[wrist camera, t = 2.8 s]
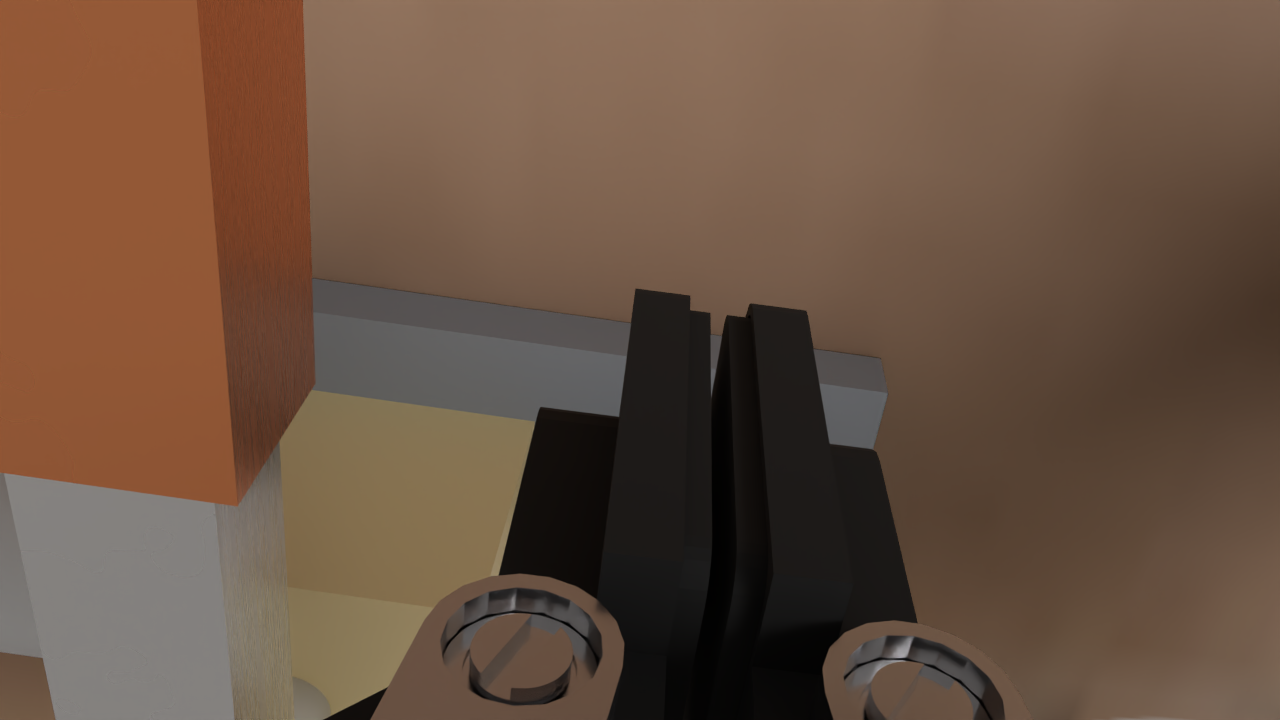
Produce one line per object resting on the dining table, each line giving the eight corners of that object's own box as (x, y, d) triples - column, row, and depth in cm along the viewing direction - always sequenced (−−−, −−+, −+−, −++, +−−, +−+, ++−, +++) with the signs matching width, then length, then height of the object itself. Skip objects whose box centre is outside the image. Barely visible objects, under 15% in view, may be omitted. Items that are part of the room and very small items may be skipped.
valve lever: (295, -224, 11) (180, -207, 9) (333, 890, 20) (280, 1040, 18) (-28, -269, 11) (-228, -264, 9) (154, 864, 20) (79, 1010, 18)
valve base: (880, 358, 25) (957, 703, 16) (797, 675, 30) (821, 1069, 21) (-82, 222, 25) (-519, 493, 17) (-5, 560, 30) (-309, 905, 22)
